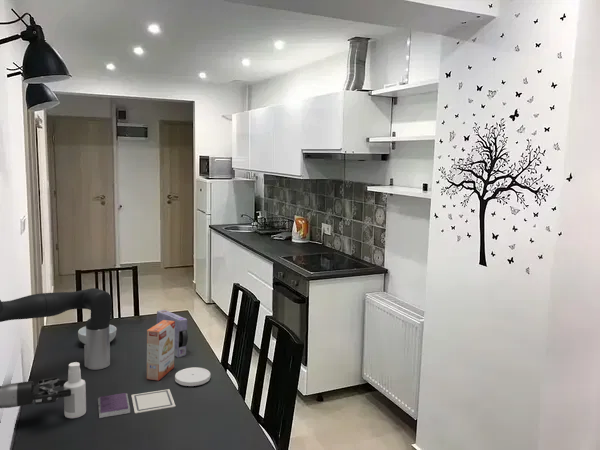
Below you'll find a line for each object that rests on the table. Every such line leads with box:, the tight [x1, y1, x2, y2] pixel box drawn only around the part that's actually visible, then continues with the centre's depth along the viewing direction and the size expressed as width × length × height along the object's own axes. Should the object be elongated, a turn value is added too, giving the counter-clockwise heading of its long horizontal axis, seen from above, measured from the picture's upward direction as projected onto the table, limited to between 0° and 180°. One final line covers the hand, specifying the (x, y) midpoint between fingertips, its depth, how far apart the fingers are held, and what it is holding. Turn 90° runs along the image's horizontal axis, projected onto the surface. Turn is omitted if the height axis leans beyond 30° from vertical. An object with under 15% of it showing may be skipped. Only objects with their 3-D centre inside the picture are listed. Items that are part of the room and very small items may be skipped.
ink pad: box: [97, 392, 131, 419], centre depth 173 cm, size 10×12×2 cm
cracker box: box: [146, 320, 175, 382], centre depth 200 cm, size 14×6×21 cm, turn 168°
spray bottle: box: [63, 361, 87, 419], centre depth 167 cm, size 7×7×18 cm
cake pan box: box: [156, 309, 189, 359], centre depth 224 cm, size 19×5×18 cm, turn 50°
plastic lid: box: [174, 366, 211, 387], centre depth 197 cm, size 14×14×2 cm
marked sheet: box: [131, 388, 176, 414], centre depth 178 cm, size 14×14×1 cm
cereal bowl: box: [77, 324, 118, 345], centre depth 231 cm, size 17×17×7 cm
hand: (71, 386), depth 166 cm, fingers open, 8 cm apart
